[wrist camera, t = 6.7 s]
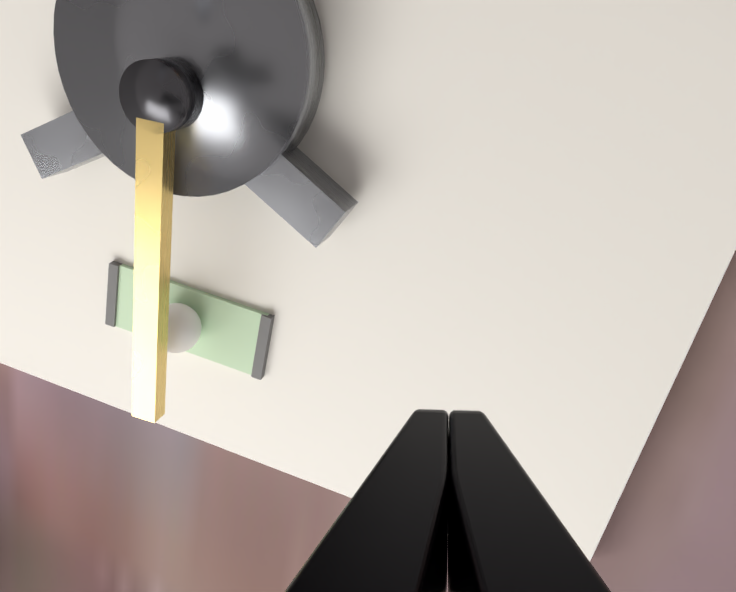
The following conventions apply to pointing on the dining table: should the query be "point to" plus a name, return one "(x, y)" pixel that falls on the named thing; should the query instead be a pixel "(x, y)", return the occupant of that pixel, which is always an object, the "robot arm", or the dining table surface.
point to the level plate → (413, 242)
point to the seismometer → (189, 127)
